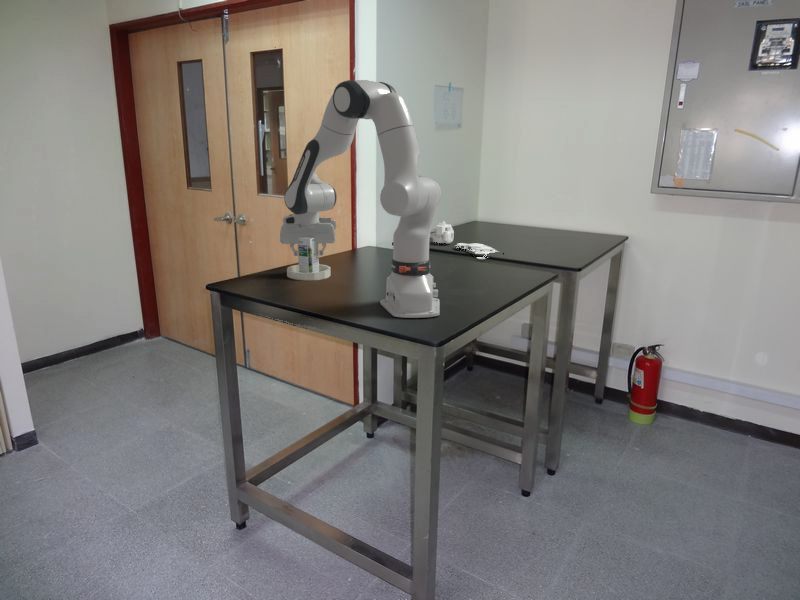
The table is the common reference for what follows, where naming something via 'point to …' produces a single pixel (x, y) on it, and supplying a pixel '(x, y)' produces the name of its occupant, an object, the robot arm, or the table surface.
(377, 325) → the table surface
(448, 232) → the mechanical part
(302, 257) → the syrup box
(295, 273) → the round bowl
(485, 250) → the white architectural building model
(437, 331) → the table surface
